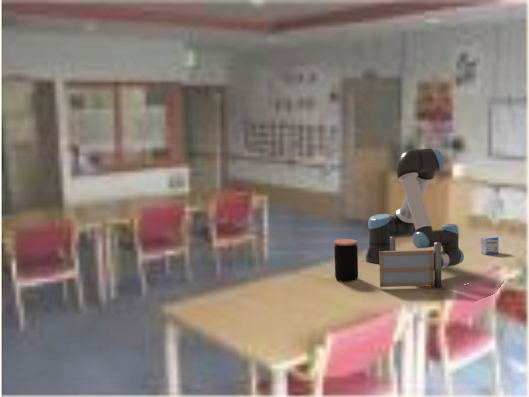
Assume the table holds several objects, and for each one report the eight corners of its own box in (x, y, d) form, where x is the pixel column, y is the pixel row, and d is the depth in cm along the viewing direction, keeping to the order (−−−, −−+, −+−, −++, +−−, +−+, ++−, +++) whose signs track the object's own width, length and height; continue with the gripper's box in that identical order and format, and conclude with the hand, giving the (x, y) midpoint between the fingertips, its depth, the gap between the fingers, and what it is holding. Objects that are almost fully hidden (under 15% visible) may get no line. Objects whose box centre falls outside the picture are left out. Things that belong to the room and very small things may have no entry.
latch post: (390, 277, 326) (389, 237, 323) (390, 276, 328) (390, 236, 326) (395, 277, 325) (395, 237, 323) (396, 276, 328) (395, 236, 325)
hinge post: (430, 289, 303) (430, 244, 300) (431, 285, 309) (430, 241, 306) (445, 289, 301) (444, 244, 299) (445, 286, 307) (444, 241, 304)
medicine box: (485, 255, 363) (485, 238, 362) (480, 253, 368) (480, 237, 366) (498, 253, 365) (498, 237, 364) (493, 251, 370) (493, 235, 368)
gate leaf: (433, 284, 306) (433, 249, 304) (434, 285, 304) (433, 250, 302) (380, 285, 307) (379, 251, 305) (380, 286, 306) (379, 252, 303)
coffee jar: (343, 275, 334) (342, 238, 331) (362, 278, 327) (361, 240, 324) (330, 280, 325) (329, 242, 323) (350, 283, 319) (349, 244, 316)
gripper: (448, 271, 315) (412, 280, 302) (425, 266, 326) (390, 275, 312) (448, 255, 314) (412, 263, 301) (425, 250, 325) (390, 258, 311)
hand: (401, 269), depth 307 cm, fingers closed
